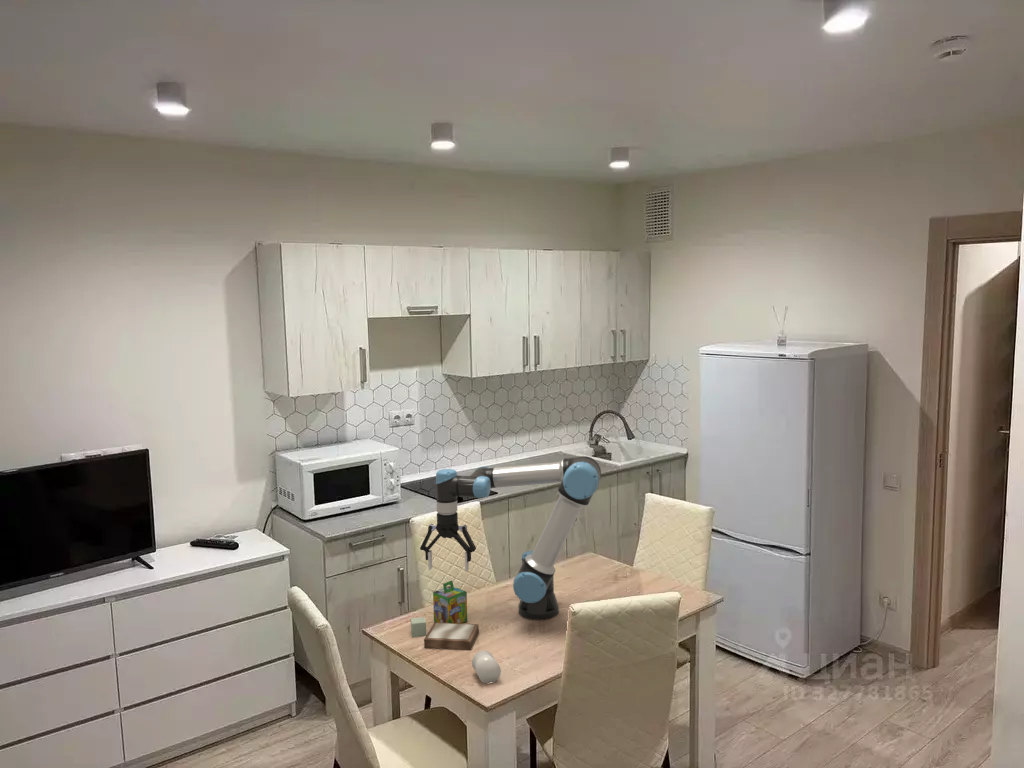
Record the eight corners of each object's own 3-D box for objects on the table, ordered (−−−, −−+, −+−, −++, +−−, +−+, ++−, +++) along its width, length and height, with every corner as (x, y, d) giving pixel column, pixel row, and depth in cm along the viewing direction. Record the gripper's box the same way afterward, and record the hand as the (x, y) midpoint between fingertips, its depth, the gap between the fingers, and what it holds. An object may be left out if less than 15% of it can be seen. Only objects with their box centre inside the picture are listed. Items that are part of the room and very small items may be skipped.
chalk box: (449, 629, 269) (448, 589, 268) (432, 622, 275) (431, 583, 274) (468, 621, 276) (467, 582, 274) (451, 614, 282) (450, 576, 280)
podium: (478, 632, 266) (478, 623, 265) (470, 650, 252) (470, 640, 252) (434, 630, 268) (434, 621, 268) (424, 647, 254) (424, 638, 254)
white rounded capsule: (496, 653, 238) (504, 664, 230) (488, 674, 237) (496, 685, 230) (476, 648, 235) (483, 659, 228) (468, 669, 235) (475, 681, 228)
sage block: (425, 630, 269) (424, 616, 268) (426, 636, 264) (426, 622, 264) (411, 631, 268) (410, 618, 267) (412, 637, 263) (411, 623, 263)
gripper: (483, 510, 273) (484, 567, 275) (416, 508, 277) (418, 564, 279) (479, 515, 266) (480, 574, 268) (410, 514, 270) (412, 571, 272)
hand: (448, 569), depth 274 cm, fingers open, 13 cm apart
